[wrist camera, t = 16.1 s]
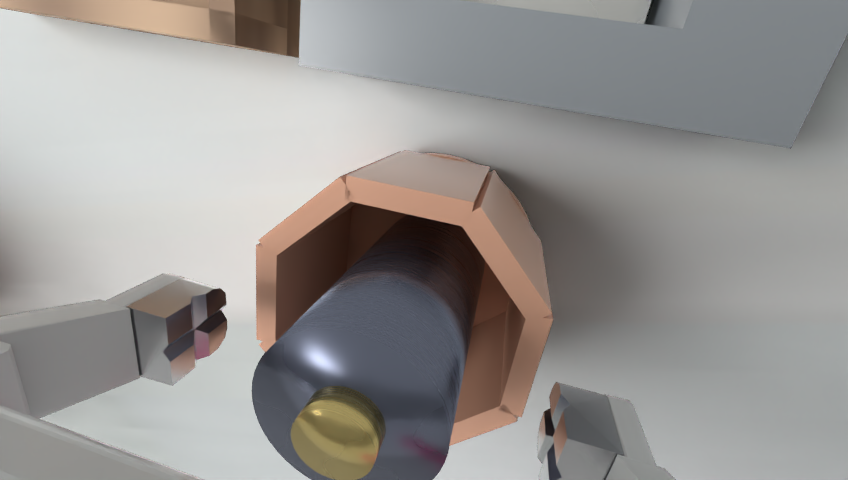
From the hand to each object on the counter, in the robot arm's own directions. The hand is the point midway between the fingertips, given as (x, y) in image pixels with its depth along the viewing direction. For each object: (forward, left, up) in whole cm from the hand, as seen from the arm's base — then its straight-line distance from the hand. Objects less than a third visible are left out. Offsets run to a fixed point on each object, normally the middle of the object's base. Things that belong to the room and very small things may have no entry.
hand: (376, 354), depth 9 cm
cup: (0, 0, -7) cm, 7 cm away
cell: (0, 0, -6) cm, 6 cm away
